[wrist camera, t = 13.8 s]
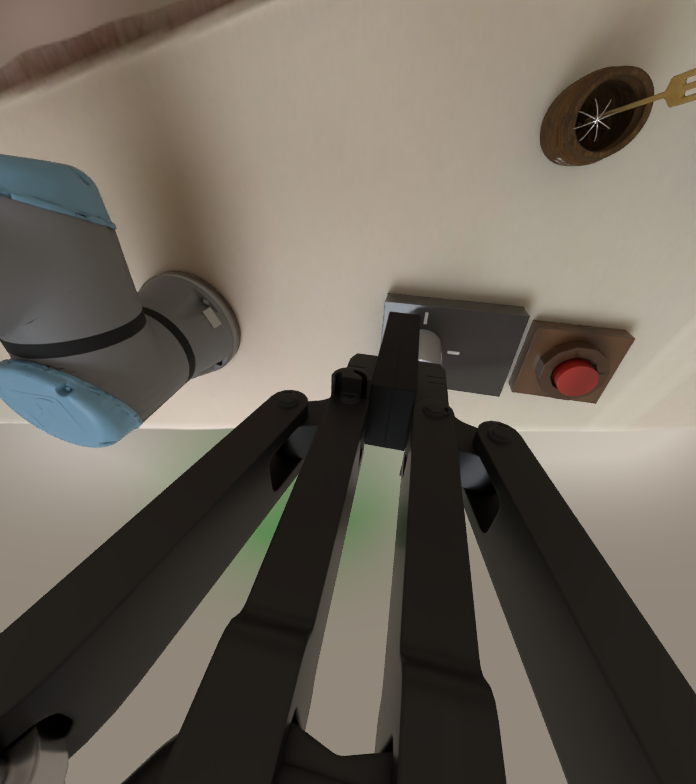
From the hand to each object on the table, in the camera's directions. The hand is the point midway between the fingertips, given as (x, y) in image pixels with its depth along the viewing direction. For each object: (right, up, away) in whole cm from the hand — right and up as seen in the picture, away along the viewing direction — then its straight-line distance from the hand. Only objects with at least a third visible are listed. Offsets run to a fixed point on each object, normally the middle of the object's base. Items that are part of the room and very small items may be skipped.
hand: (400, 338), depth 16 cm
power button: (+23, -1, +21) cm, 31 cm away
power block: (+24, +1, +24) cm, 34 cm away
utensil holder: (+17, +21, +12) cm, 30 cm away
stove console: (+10, +4, +26) cm, 28 cm away
